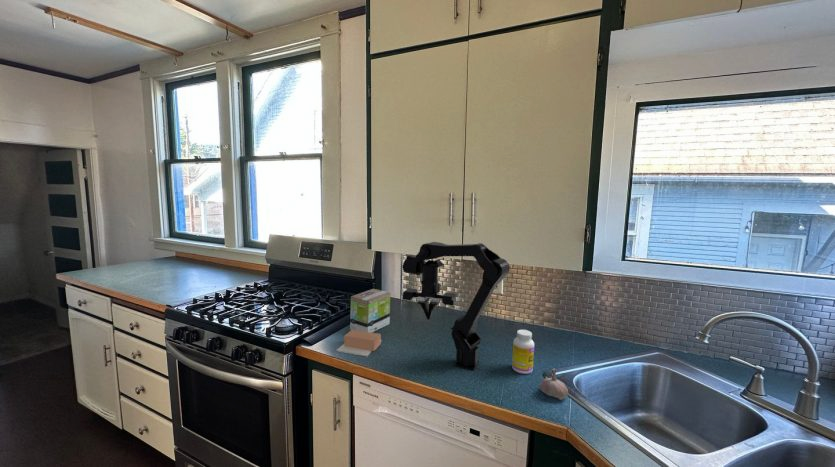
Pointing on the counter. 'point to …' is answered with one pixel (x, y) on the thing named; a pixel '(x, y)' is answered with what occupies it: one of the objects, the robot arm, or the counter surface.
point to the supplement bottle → (523, 352)
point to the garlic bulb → (554, 387)
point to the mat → (354, 350)
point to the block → (362, 340)
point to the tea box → (370, 310)
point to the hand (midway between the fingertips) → (428, 319)
